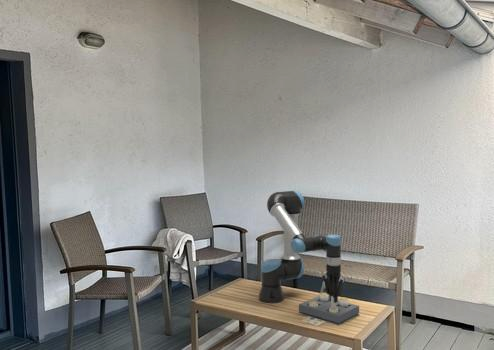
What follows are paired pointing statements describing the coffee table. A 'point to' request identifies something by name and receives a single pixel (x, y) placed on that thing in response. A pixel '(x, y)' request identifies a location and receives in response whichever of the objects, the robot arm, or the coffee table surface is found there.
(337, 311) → the button
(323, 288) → the mug
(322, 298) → the button
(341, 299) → the button
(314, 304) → the button
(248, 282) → the coffee table surface
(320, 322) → the card
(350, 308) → the console
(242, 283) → the coffee table surface
